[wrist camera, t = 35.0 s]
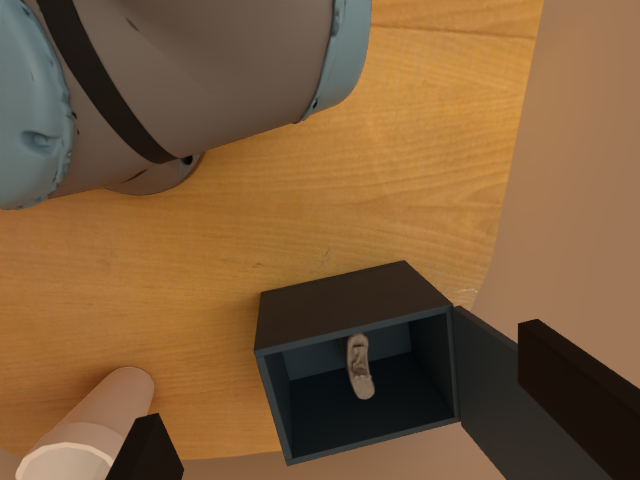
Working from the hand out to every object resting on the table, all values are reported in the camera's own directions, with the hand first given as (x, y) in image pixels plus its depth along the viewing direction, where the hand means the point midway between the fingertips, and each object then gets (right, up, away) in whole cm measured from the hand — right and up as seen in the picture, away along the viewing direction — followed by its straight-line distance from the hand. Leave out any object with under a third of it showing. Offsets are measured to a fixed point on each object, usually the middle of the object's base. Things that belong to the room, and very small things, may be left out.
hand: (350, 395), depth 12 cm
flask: (+2, -6, +33) cm, 33 cm away
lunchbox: (+2, -6, +33) cm, 34 cm away
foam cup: (-27, -14, +32) cm, 44 cm away
